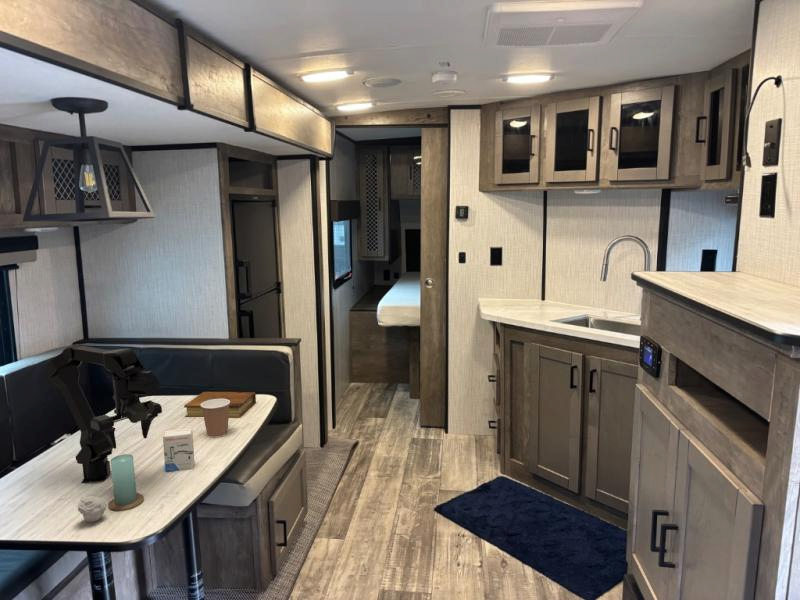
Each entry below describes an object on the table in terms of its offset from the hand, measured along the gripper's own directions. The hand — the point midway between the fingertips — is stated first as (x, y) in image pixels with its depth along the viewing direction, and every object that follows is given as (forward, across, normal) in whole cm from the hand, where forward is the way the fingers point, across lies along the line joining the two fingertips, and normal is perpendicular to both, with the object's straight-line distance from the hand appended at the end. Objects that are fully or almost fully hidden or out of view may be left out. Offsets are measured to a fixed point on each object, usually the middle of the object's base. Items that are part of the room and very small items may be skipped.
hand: (130, 443), depth 164 cm
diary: (+14, +56, +35) cm, 68 cm away
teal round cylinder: (+12, -7, -9) cm, 17 cm away
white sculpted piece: (+13, -17, -11) cm, 24 cm away
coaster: (+13, -7, -9) cm, 17 cm away
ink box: (+13, +15, -1) cm, 20 cm away
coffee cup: (+13, +39, +14) cm, 43 cm away
